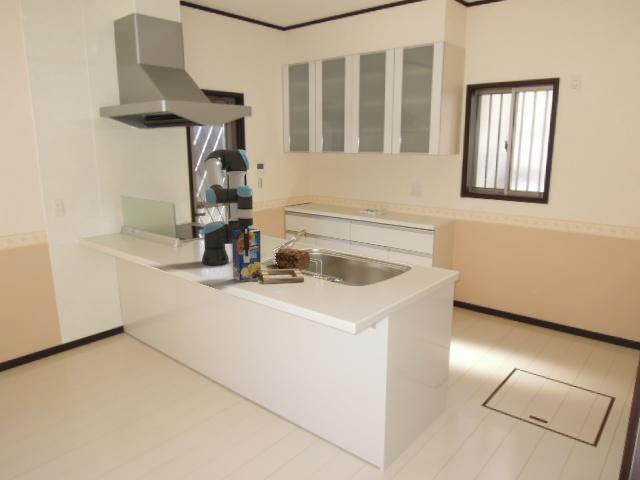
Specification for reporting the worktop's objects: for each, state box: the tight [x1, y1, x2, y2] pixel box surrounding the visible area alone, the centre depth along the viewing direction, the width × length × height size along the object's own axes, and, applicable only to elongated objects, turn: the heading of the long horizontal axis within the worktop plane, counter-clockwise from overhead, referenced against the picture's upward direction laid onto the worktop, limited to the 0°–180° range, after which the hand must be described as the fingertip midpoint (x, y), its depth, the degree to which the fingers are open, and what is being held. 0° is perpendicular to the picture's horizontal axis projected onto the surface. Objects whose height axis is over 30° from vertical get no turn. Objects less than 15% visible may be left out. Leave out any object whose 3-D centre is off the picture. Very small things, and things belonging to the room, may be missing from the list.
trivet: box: [234, 277, 259, 283], centre depth 232 cm, size 11×11×1 cm
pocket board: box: [261, 268, 305, 285], centre depth 234 cm, size 18×20×2 cm
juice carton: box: [231, 228, 262, 281], centre depth 229 cm, size 12×8×24 cm, turn 128°
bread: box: [274, 247, 311, 271], centre depth 256 cm, size 19×11×10 cm, turn 48°
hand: (246, 259), depth 230 cm, fingers open, 13 cm apart
